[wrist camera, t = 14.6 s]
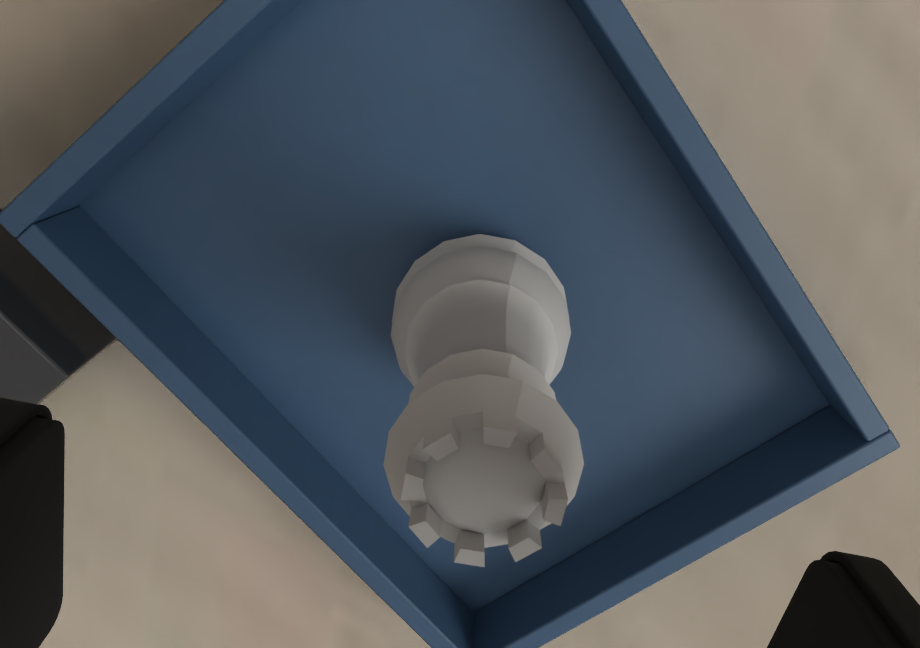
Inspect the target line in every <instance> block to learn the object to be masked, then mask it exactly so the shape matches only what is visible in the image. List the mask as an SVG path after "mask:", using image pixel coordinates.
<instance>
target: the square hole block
mask: <svg viewBox="0 0 920 648" xmlns="http://www.w3.org/2000/svg"><path fill="white" fill-rule="evenodd" d="M0 212H1V211H0ZM17 238H18V237H14V236H12V235H11V234H10V233H9V232H8V231H7V230H6V229H5V228H4V227H3V226H2V225H1V224H0V397H1V398H6V399H12V400H17V401H22V402H28V403H33V404H39V403H41V402H42V401H43V400H44V399H45V398H47V397H48V396H49V395H50V394H51V393H53V392H54V391H55V390H56V389H57V388H59V387H60V386H61V385H62V384H64V383H65V382H66V381H67V380H68V379H70V378H71V377H72V376H73V375H74V374H76V373H77V372H78V371H79V370H80V369H82V368H83V367H84V366H85V365H86V364H88V363H89V362H90V361H91V360H93V359H94V358H95V357H96V356H97V355H99V354H100V353H101V352H102V351H103V350H105V349H106V348H107V347H108V346H109V345H111V344H112V343H113V342H114V341H115V340H117V338H116V337H115V336H114V335H113V334H112V333H111V332H110V331H109V330H108V329H107V328H106V327H105V326H104V325H103V324H102V323H101V322H100V321H99V320H98V319H97V318H96V317H95V316H94V315H93V314H92V313H91V312H90V311H89V310H88V309H87V308H86V307H85V306H84V305H82V304H81V303H80V302H79V301H78V300H77V299H76V298H75V297H74V296H73V295H72V294H71V293H70V292H69V291H68V290H67V289H66V288H65V287H64V286H63V285H62V284H61V283H60V282H59V281H58V280H57V279H56V278H55V277H54V276H53V275H52V274H51V273H50V272H49V271H48V270H47V269H46V268H45V267H44V266H43V265H42V264H41V263H40V262H39V261H38V260H37V259H36V258H35V257H34V256H33V255H32V254H31V253H30V252H29V251H28V250H27V249H26V248H25V247H23V246H22V245H21V244H20V243H19V242H18V240H17Z"/></svg>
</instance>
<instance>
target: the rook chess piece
mask: <svg viewBox="0 0 920 648" xmlns="http://www.w3.org/2000/svg"><path fill="white" fill-rule="evenodd" d="M570 336H571V329H570V323H569V314H568V308H567V302H566V296H565V291H564V287H563V285H562V284H561V282H560V281H559V279H558V278H557V276H556V275H555V273H554V272H553V271H552V269H551V268H550V266H549V265H548V263H547V262H546V260H545V259H544V258H542V257H541V256H539V255H537V254H536V253H534V252H533V251H531V250H530V249H528V248H526V247H525V246H523V245H522V244H520V243H519V242H517V241H516V240H511V239H505V238H500V237H494V236H489V235H483V234H476V235H472V236H467V237H462V238H457V239H453V240H448V241H444V242H442V243H441V244H439V245H438V246H436V247H435V248H433V249H432V250H430V251H429V252H428V253H426V254H425V255H423V256H422V257H420V258H419V259H417V260H416V261H415V262H414V263H413V265H412V266H411V268H410V270H409V271H408V273H407V274H406V276H405V277H404V279H403V280H402V282H401V284H400V285H399V287H398V288H397V291H396V297H395V304H394V310H393V317H392V329H391V338H392V342H393V345H394V349H395V353H396V356H397V360H398V364H399V367H400V369H401V371H402V373H403V374H404V375H405V376H406V378H407V379H408V380H409V381H410V383H411V384H412V385H413V386H414V389H413V390H412V392H411V393H410V397H409V403H408V405H407V406H406V408H405V409H404V410H403V412H402V413H401V415H400V416H399V418H398V419H397V421H396V422H395V423H394V425H393V426H392V428H391V429H390V431H389V434H388V440H387V446H386V452H385V458H384V469H385V472H386V475H387V479H388V482H389V485H390V489H391V492H392V495H393V498H394V499H395V500H396V501H397V502H398V503H399V505H400V506H401V507H402V508H403V509H404V510H405V512H406V513H407V514H408V515H409V516H410V519H409V526H408V527H409V528H410V529H411V530H412V531H413V532H414V534H415V535H416V536H417V537H418V538H419V539H420V541H421V542H422V543H423V544H424V545H425V546H426V548H428V547H429V546H430V545H432V544H433V543H434V542H435V541H436V540H438V539H439V538H440V537H442V538H444V539H446V540H448V541H450V542H453V543H455V546H454V563H461V564H467V565H473V566H480V567H485V551H484V548H487V547H493V546H499V545H505V544H508V549H509V550H510V552H511V554H512V556H513V558H514V560H515V562H517V561H519V560H521V559H523V558H524V557H526V556H528V555H530V554H532V553H534V552H536V551H537V550H539V549H541V548H542V544H541V537H540V529H542V528H544V527H546V526H548V525H550V524H551V523H553V524H556V525H559V526H561V523H562V520H563V516H564V513H565V509H566V506H567V505H568V504H569V503H570V502H571V500H572V499H573V498H574V497H575V494H576V491H577V487H578V484H579V480H580V477H581V473H582V470H583V466H584V461H583V455H582V449H581V444H580V438H579V433H578V429H577V428H576V427H575V425H574V424H573V423H572V421H571V420H570V418H569V417H568V416H567V414H566V413H565V411H564V410H563V409H562V407H561V406H560V404H559V403H558V402H557V401H556V397H555V392H554V391H553V389H552V388H551V387H550V384H551V382H552V381H553V380H554V378H555V377H556V376H557V374H558V373H559V372H560V371H561V369H562V366H563V363H564V359H565V355H566V352H567V348H568V344H569V340H570Z"/></svg>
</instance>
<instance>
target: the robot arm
mask: <svg viewBox="0 0 920 648" xmlns="http://www.w3.org/2000/svg"><path fill="white" fill-rule="evenodd" d="M64 437H65V434H64V427H63V424H62V423H61V422H59V421H56V420H52V415H51V413H50V410H49V408H47V407H46V406H44V405H39V404H33V403H28V402H22V401H17V400H12V399H6V398H1V397H0V648H39V646H40V645H41V643H42V642H43V640H44V639H45V638H46V636H47V635H48V633H49V632H50V630H51V629H52V627H53V625H54V623H55V621H56V619H57V617H58V614H59V611H60V608H61V604H62V597H63V528H64ZM767 648H920V605H919V604H918V603H917V602H916V600H915V599H914V598H913V597H912V596H911V594H910V593H909V592H908V591H907V590H906V588H905V587H904V586H903V585H902V584H901V582H900V581H899V580H898V579H897V577H896V576H895V575H894V574H893V573H892V571H891V570H890V569H889V568H888V567H887V566H886V565H885V564H884V563H883V562H882V561H880V560H877V559H874V558H869V557H864V556H859V555H853V554H848V553H842V552H837V551H833V552H828V553H826V554H825V555H824V556H822V558H821V559H820V560H815V561H813V562H812V563H810V565H809V566H808V568H807V569H806V571H805V573H804V575H803V577H802V579H801V581H800V583H799V585H798V587H797V589H796V591H795V593H794V595H793V597H792V599H791V601H790V603H789V605H788V607H787V609H786V611H785V613H784V615H783V617H782V619H781V621H780V623H779V625H778V627H777V629H776V631H775V633H774V635H773V637H772V639H771V641H770V643H769V645H768V647H767Z"/></svg>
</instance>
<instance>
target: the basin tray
mask: <svg viewBox="0 0 920 648" xmlns="http://www.w3.org/2000/svg"><path fill="white" fill-rule="evenodd" d="M0 224H1V225H2V226H3V227H4V228H5V229H6V230H7V231H8V232H9V233H10V234H11V235H12V236H14V237H18V238H17V240H18V242H19V243H20V244H21V245H22V246H23V247H25V248H26V249H27V250H28V251H29V252H30V253H31V254H32V255H33V256H34V257H35V258H36V259H37V260H38V261H39V262H40V263H41V264H42V265H43V266H44V267H45V268H46V269H47V270H48V271H49V272H50V273H51V274H52V275H53V276H54V277H55V278H56V279H57V280H58V281H59V282H60V283H61V284H62V285H63V286H64V287H65V288H66V289H67V290H68V291H69V292H70V293H71V294H72V295H73V296H74V297H75V298H76V299H77V300H78V301H79V302H80V303H81V304H82V305H84V306H85V307H86V308H87V309H88V310H89V311H90V312H91V313H92V314H93V315H94V316H95V317H96V318H97V319H98V320H99V321H100V322H101V323H102V324H103V325H104V326H105V327H106V328H107V329H108V330H109V331H110V332H111V333H112V334H113V335H114V336H115V337H116V338H117V339H118V340H119V341H120V342H121V343H122V344H123V345H124V346H125V347H126V348H127V349H128V350H129V351H130V352H131V353H132V354H133V355H134V356H135V357H136V358H137V359H138V360H139V361H140V362H141V363H143V364H144V365H145V366H146V367H147V368H148V369H149V370H150V371H151V372H152V373H153V374H154V375H155V376H156V377H157V378H158V379H159V380H160V381H161V382H162V383H163V384H164V385H165V386H166V387H167V388H168V389H169V390H170V391H171V392H172V393H173V394H174V395H175V396H176V397H177V398H178V399H179V400H180V401H181V402H182V403H183V404H184V405H185V406H186V407H187V408H188V409H189V410H190V411H191V412H192V413H193V414H194V415H195V416H196V417H197V418H198V419H199V420H200V421H202V422H203V423H204V424H205V425H206V426H207V427H208V428H209V429H210V430H211V431H212V432H213V433H214V434H215V435H216V436H217V437H218V438H219V439H220V440H221V441H222V442H223V443H224V444H225V445H226V446H227V447H228V448H229V449H230V450H231V451H232V452H233V453H234V454H235V455H236V456H237V457H238V458H239V459H240V460H241V461H242V462H243V463H244V464H245V465H246V466H247V467H248V468H249V469H250V470H251V471H252V472H253V473H254V474H255V475H256V476H257V477H258V478H259V479H260V480H262V481H263V482H264V483H265V484H266V485H267V486H268V487H269V488H270V489H271V490H272V491H273V492H274V493H275V494H276V495H277V496H278V497H279V498H280V499H281V500H282V501H283V502H284V503H285V504H286V505H287V506H288V507H289V508H290V509H291V510H292V511H293V512H294V513H295V514H296V515H297V516H298V517H299V518H300V519H301V520H302V521H303V522H304V523H305V524H306V525H307V526H308V527H309V528H310V529H311V530H312V531H313V532H314V533H315V534H316V535H317V536H318V537H319V538H321V539H322V540H323V541H324V542H325V543H326V544H327V545H328V546H329V547H330V548H331V549H332V550H333V551H334V552H335V553H336V554H337V555H338V556H339V557H340V558H341V559H342V560H343V561H344V562H345V563H346V564H347V565H348V566H349V567H350V568H351V569H352V570H353V571H354V572H355V573H356V574H357V575H358V576H359V577H360V578H361V579H362V580H363V581H364V582H365V583H366V584H367V585H368V586H369V587H370V588H371V589H372V590H373V591H374V592H375V593H376V594H377V595H378V596H380V597H381V598H382V599H383V600H384V601H385V602H386V603H387V604H388V605H389V606H390V607H391V608H392V609H393V610H394V611H395V612H396V613H397V614H398V615H399V616H400V617H401V618H402V619H403V620H404V621H405V622H406V623H407V624H408V625H409V626H410V627H411V628H412V629H413V630H414V631H415V632H416V633H417V634H418V635H419V636H420V637H421V638H422V639H423V640H424V641H425V642H426V643H427V644H428V645H429V646H430V647H431V648H539V647H540V646H542V645H544V644H546V643H548V642H549V641H551V640H553V639H555V638H557V637H558V636H560V635H562V634H564V633H566V632H567V631H569V630H571V629H573V628H575V627H576V626H578V625H580V624H582V623H584V622H585V621H587V620H589V619H591V618H593V617H595V616H596V615H598V614H600V613H602V612H604V611H605V610H607V609H609V608H611V607H613V606H614V605H616V604H618V603H620V602H622V601H623V600H625V599H627V598H629V597H631V596H632V595H634V594H636V593H638V592H640V591H641V590H643V589H645V588H647V587H649V586H651V585H652V584H654V583H656V582H658V581H660V580H661V579H663V578H665V577H667V576H669V575H670V574H672V573H674V572H676V571H678V570H679V569H681V568H683V567H685V566H687V565H688V564H690V563H692V562H694V561H696V560H697V559H699V558H701V557H703V556H705V555H706V554H708V553H710V552H712V551H714V550H716V549H717V548H719V547H721V546H723V545H725V544H726V543H728V542H730V541H732V540H734V539H735V538H737V537H739V536H741V535H743V534H744V533H746V532H748V531H750V530H752V529H753V528H755V527H757V526H759V525H761V524H762V523H764V522H766V521H768V520H770V519H771V518H773V517H775V516H777V515H779V514H781V513H782V512H784V511H786V510H788V509H790V508H791V507H793V506H795V505H797V504H799V503H800V502H802V501H804V500H806V499H808V498H809V497H811V496H813V495H815V494H817V493H818V492H820V491H822V490H824V489H826V488H827V487H829V486H831V485H833V484H835V483H836V482H838V481H840V480H842V479H844V478H846V477H847V476H849V475H851V474H853V473H855V472H856V471H858V470H860V469H862V468H864V467H865V466H867V465H869V464H871V463H873V462H874V461H876V460H878V459H880V458H882V457H883V456H885V455H887V454H889V453H891V452H892V451H894V450H896V449H898V448H899V447H900V445H899V443H898V441H897V439H896V438H895V436H894V435H893V433H892V431H891V430H890V429H889V427H888V425H887V423H886V422H885V420H884V419H883V417H882V415H881V414H880V412H879V411H878V409H877V407H876V406H875V404H874V403H873V401H872V399H871V398H870V396H869V395H868V393H867V392H866V390H865V388H864V387H863V385H862V384H861V382H860V380H859V379H858V377H857V376H856V374H855V372H854V371H853V369H852V368H851V366H850V364H849V363H848V361H847V360H846V358H845V356H844V355H843V353H842V352H841V350H840V348H839V347H838V345H837V344H836V342H835V341H834V339H833V337H832V336H831V334H830V333H829V331H828V329H827V328H826V326H825V325H824V323H823V321H822V320H821V318H820V317H819V315H818V313H817V312H816V310H815V309H814V307H813V305H812V304H811V302H810V301H809V299H808V297H807V296H806V294H805V293H804V291H803V290H802V288H801V286H800V285H799V283H798V282H797V280H796V278H795V277H794V275H793V274H792V272H791V270H790V269H789V267H788V266H787V264H786V262H785V261H784V259H783V258H782V256H781V254H780V253H779V251H778V250H777V248H776V246H775V245H774V243H773V242H772V240H771V239H770V237H769V235H768V234H767V232H766V231H765V229H764V227H763V226H762V224H761V223H760V221H759V219H758V218H757V216H756V215H755V213H754V211H753V210H752V208H751V207H750V205H749V203H748V202H747V200H746V199H745V197H744V195H743V194H742V192H741V191H740V189H739V188H738V186H737V184H736V183H735V181H734V180H733V178H732V176H731V175H730V173H729V172H728V170H727V168H726V167H725V165H724V164H723V162H722V160H721V159H720V157H719V156H718V154H717V152H716V151H715V149H714V148H713V146H712V144H711V143H710V141H709V140H708V138H707V137H706V135H705V133H704V132H703V130H702V129H701V127H700V125H699V124H698V122H697V121H696V119H695V117H694V116H693V114H692V113H691V111H690V109H689V108H688V106H687V105H686V103H685V101H684V100H683V98H682V97H681V95H680V93H679V92H678V90H677V89H676V87H675V85H674V84H673V82H672V81H671V79H670V78H669V76H668V74H667V73H666V71H665V70H664V68H663V66H662V65H661V63H660V62H659V60H658V58H657V57H656V55H655V54H654V52H653V50H652V49H651V47H650V46H649V44H648V42H647V41H646V39H645V38H644V36H643V34H642V33H641V31H640V30H639V28H638V27H637V25H636V23H635V22H634V20H633V19H632V17H631V15H630V14H629V12H628V11H627V9H626V7H625V6H624V4H623V3H622V1H621V0H224V1H223V2H222V3H221V4H220V5H219V6H217V7H216V8H215V9H214V10H213V11H212V12H211V13H210V14H209V15H208V16H207V17H206V18H205V19H204V20H203V21H202V22H201V23H200V24H198V25H197V26H196V27H195V28H194V29H193V30H192V31H191V32H190V33H189V34H188V35H187V36H186V37H185V38H184V39H183V40H182V41H181V42H179V43H178V44H177V45H176V46H175V47H174V48H173V49H172V50H171V51H170V52H169V53H168V54H167V55H166V56H165V57H164V58H163V59H162V60H160V61H159V62H158V63H157V64H156V65H155V66H154V67H153V68H152V69H151V70H150V71H149V72H148V73H147V74H146V75H145V76H144V77H142V78H141V79H140V80H139V81H138V82H137V83H136V84H135V85H134V86H133V87H132V88H131V89H130V90H129V91H128V92H127V93H126V94H125V95H123V96H122V97H121V98H120V99H119V100H118V101H117V102H116V103H115V104H114V105H113V106H112V107H111V108H110V109H109V110H108V111H107V112H106V113H104V114H103V115H102V116H101V117H100V118H99V119H98V120H97V121H96V122H95V123H94V124H93V125H92V126H91V127H90V128H89V129H88V130H87V131H85V132H84V133H83V134H82V135H81V136H80V137H79V138H78V139H77V140H76V141H75V142H74V143H73V144H72V145H71V146H70V147H69V148H68V149H66V150H65V151H64V152H63V153H62V154H61V155H60V156H59V157H58V158H57V159H56V160H55V161H54V162H53V163H52V164H51V165H50V166H49V167H47V168H46V169H45V170H44V171H43V172H42V173H41V174H40V175H39V176H38V177H37V178H36V179H35V180H34V181H33V182H32V183H31V184H30V185H28V186H27V187H26V188H25V189H24V190H23V191H22V192H21V193H20V194H19V195H18V196H17V197H16V198H15V199H14V200H13V201H12V202H11V203H9V204H8V205H7V206H6V207H5V208H4V209H3V210H2V211H1V212H0ZM476 234H483V235H489V236H494V237H500V238H505V239H511V240H516V241H517V242H519V243H520V244H522V245H523V246H525V247H526V248H528V249H530V250H531V251H533V252H534V253H536V254H537V255H539V256H541V257H542V258H544V259H545V260H546V262H547V263H548V265H549V266H550V268H551V269H552V271H553V272H554V273H555V275H556V276H557V278H558V279H559V281H560V282H561V284H562V285H563V287H564V291H565V296H566V302H567V308H568V314H569V323H570V329H571V336H570V340H569V344H568V348H567V352H566V355H565V359H564V363H563V366H562V369H561V371H560V372H559V373H558V374H557V376H556V377H555V378H554V380H553V381H552V382H551V384H550V387H551V388H552V389H553V391H554V392H555V397H556V401H557V402H558V403H559V404H560V406H561V407H562V409H563V410H564V411H565V413H566V414H567V416H568V417H569V418H570V420H571V421H572V423H573V424H574V425H575V427H576V428H577V429H578V433H579V438H580V444H581V449H582V455H583V461H584V466H583V470H582V473H581V477H580V480H579V484H578V487H577V491H576V494H575V497H574V498H573V499H572V500H571V502H570V503H569V504H568V505H567V506H566V509H565V513H564V516H563V520H562V523H561V526H559V525H556V524H553V523H551V524H550V525H548V526H546V527H544V528H542V529H540V537H541V544H542V548H541V549H539V550H537V551H536V552H534V553H532V554H530V555H528V556H526V557H524V558H523V559H521V560H519V561H517V562H515V560H514V558H513V556H512V554H511V552H510V550H509V549H508V544H505V545H499V546H493V547H487V548H484V551H485V567H480V566H473V565H467V564H461V563H454V546H455V543H453V542H450V541H448V540H446V539H444V538H442V537H440V538H439V539H438V540H436V541H435V542H434V543H433V544H432V545H430V546H429V547H428V548H426V546H425V545H424V544H423V543H422V542H421V541H420V539H419V538H418V537H417V536H416V535H415V534H414V532H413V531H412V530H411V529H410V528H409V527H408V526H409V519H410V516H409V515H408V514H407V513H406V512H405V510H404V509H403V508H402V507H401V506H400V505H399V503H398V502H397V501H396V500H395V499H394V498H393V495H392V492H391V489H390V485H389V482H388V479H387V475H386V472H385V469H384V458H385V452H386V446H387V440H388V434H389V431H390V429H391V428H392V426H393V425H394V423H395V422H396V421H397V419H398V418H399V416H400V415H401V413H402V412H403V410H404V409H405V408H406V406H407V405H408V403H409V397H410V393H411V392H412V390H413V389H414V386H413V385H412V384H411V383H410V381H409V380H408V379H407V378H406V376H405V375H404V374H403V373H402V371H401V369H400V367H399V364H398V360H397V356H396V353H395V349H394V345H393V342H392V338H391V329H392V317H393V310H394V304H395V297H396V291H397V288H398V287H399V285H400V284H401V282H402V280H403V279H404V277H405V276H406V274H407V273H408V271H409V270H410V268H411V266H412V265H413V263H414V262H415V261H416V260H417V259H419V258H420V257H422V256H423V255H425V254H426V253H428V252H429V251H430V250H432V249H433V248H435V247H436V246H438V245H439V244H441V243H442V242H444V241H448V240H453V239H457V238H462V237H467V236H472V235H476Z"/></svg>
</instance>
